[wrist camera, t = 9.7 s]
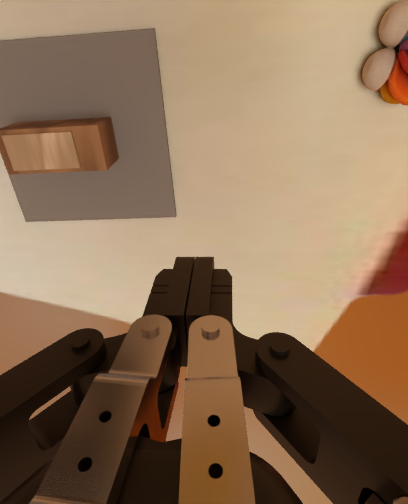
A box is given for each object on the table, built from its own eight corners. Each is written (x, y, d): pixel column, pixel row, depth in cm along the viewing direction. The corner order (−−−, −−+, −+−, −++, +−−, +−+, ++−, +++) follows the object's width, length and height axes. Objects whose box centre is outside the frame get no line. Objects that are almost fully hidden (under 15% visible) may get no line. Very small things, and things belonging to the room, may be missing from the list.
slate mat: (27, 220, 49) (26, 221, 49) (-38, 44, 38) (-40, 44, 38) (176, 215, 47) (175, 217, 47) (154, 28, 36) (154, 28, 36)
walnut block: (119, 158, 43) (30, 162, 44) (111, 116, 41) (16, 122, 42) (106, 171, 39) (7, 175, 40) (96, 125, 36) (-9, 131, 37)
